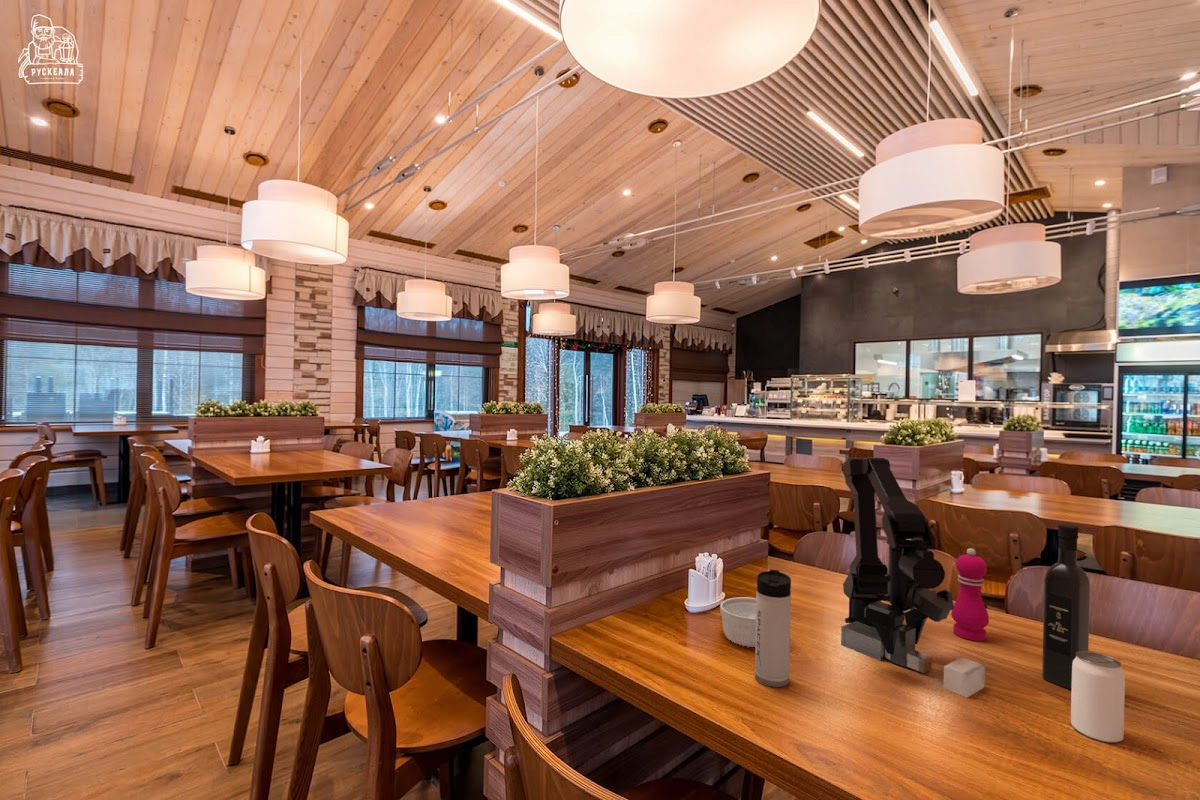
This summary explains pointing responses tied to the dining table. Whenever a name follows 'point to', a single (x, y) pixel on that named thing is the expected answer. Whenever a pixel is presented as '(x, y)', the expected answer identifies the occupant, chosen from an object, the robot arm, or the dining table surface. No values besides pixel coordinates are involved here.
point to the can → (1098, 697)
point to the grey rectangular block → (964, 677)
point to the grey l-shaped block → (908, 651)
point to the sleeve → (862, 639)
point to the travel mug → (773, 628)
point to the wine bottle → (1065, 611)
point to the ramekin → (739, 620)
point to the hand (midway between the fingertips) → (902, 648)
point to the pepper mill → (970, 598)
